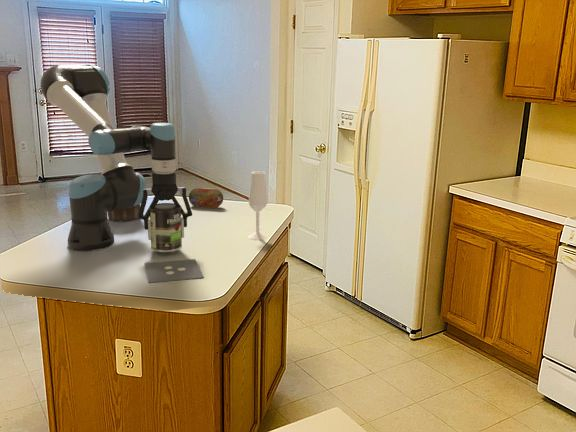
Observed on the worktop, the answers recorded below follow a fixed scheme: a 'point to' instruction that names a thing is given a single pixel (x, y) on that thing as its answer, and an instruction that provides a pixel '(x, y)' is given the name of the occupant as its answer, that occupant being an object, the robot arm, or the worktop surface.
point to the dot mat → (173, 270)
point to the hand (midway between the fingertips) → (166, 237)
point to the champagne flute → (257, 199)
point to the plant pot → (124, 214)
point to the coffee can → (165, 227)
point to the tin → (206, 197)
